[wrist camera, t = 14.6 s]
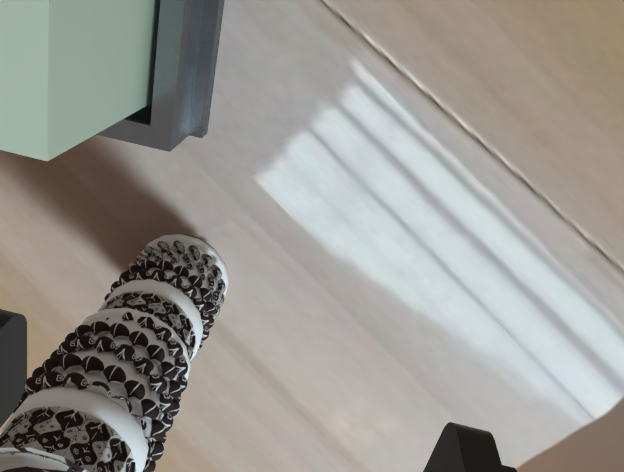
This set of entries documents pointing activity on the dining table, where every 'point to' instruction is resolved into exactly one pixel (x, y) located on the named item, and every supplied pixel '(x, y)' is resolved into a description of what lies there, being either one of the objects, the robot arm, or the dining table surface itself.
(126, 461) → the decorative candle
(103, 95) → the panel
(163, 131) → the stand
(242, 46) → the dining table surface
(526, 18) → the dining table surface
